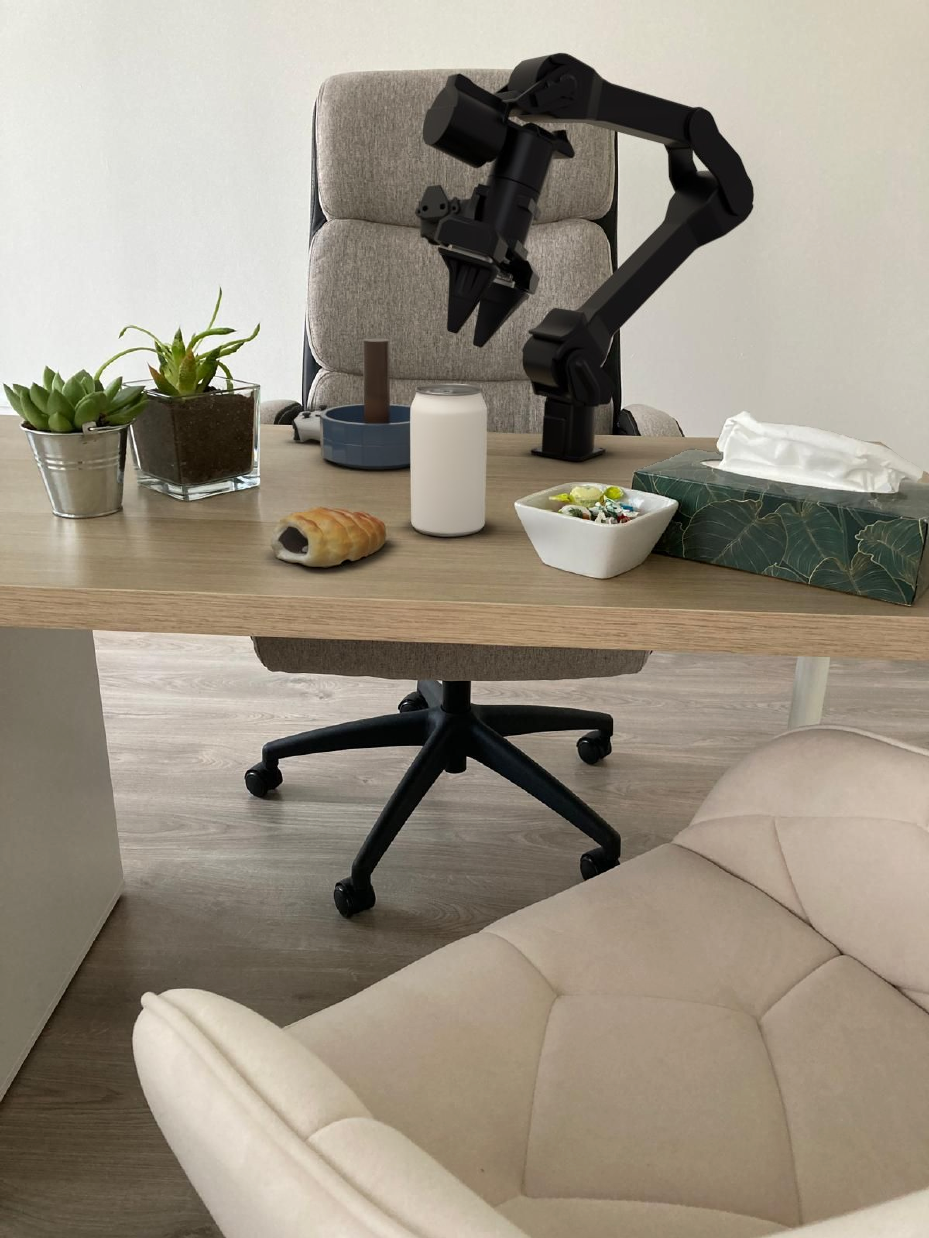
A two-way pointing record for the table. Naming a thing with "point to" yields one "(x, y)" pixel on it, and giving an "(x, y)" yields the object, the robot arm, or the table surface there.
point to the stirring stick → (376, 381)
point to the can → (448, 459)
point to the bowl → (365, 438)
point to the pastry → (327, 536)
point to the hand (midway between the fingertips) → (465, 339)
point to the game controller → (308, 424)
